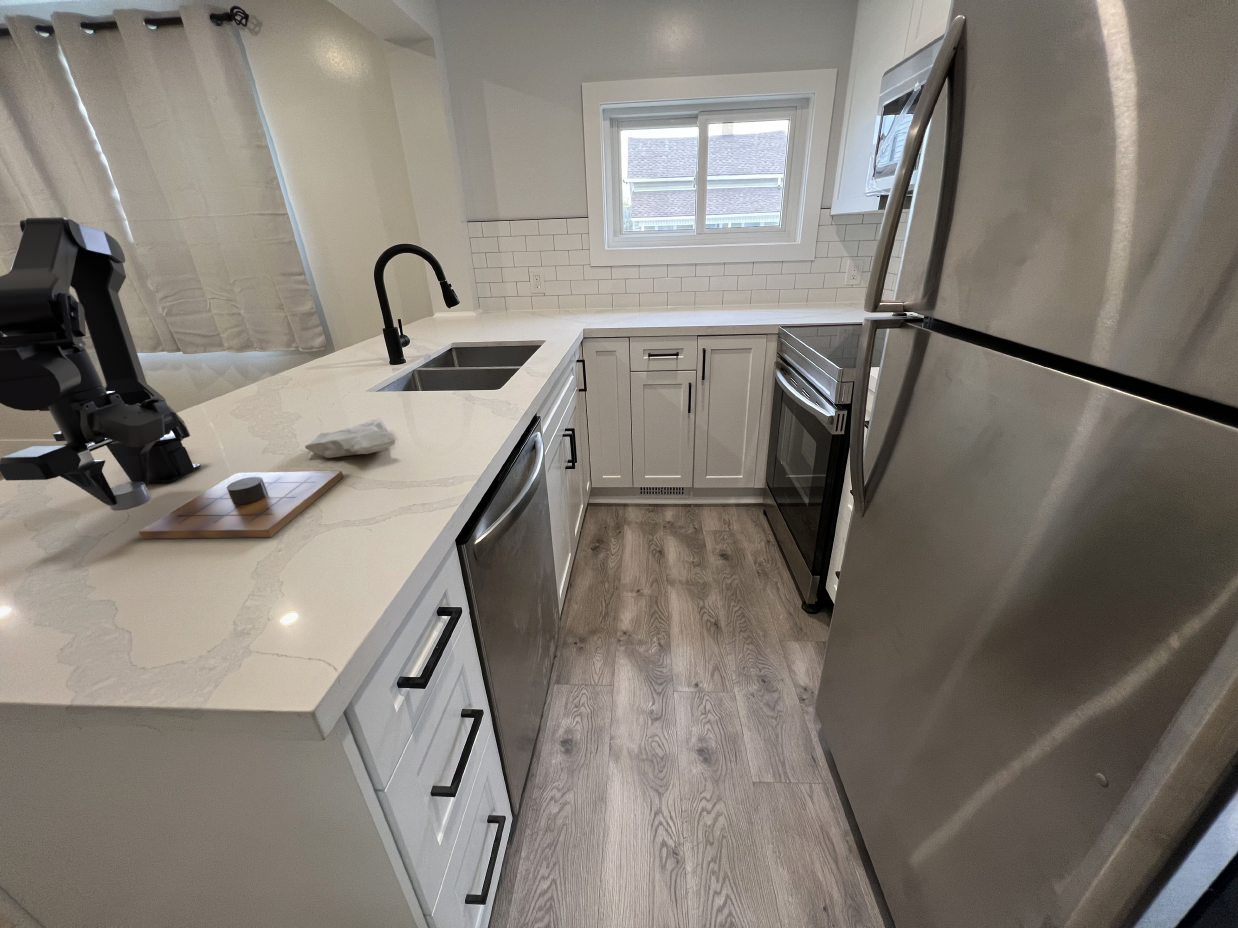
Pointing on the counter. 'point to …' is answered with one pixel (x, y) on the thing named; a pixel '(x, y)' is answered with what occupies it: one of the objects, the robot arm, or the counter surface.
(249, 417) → the counter surface
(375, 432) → the rock
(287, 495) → the board
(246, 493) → the black stone
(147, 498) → the grey stone
